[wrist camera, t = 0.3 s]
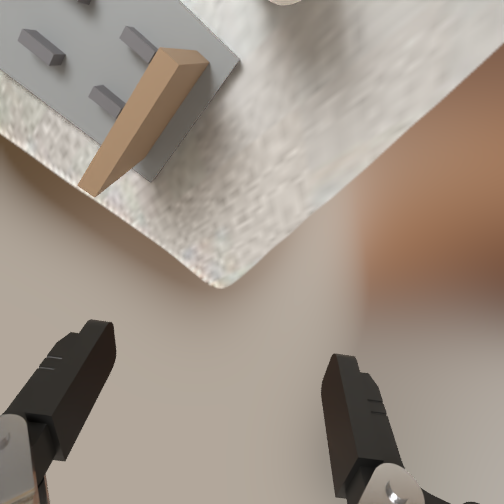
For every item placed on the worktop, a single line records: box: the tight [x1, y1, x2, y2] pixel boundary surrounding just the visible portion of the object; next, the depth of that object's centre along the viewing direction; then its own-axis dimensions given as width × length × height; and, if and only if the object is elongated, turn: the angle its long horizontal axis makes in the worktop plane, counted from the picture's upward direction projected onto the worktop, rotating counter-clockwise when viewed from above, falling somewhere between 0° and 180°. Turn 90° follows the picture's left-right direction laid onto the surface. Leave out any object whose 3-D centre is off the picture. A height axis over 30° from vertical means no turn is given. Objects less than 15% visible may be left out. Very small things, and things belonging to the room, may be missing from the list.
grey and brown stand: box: [0, 0, 240, 197], centre depth 27 cm, size 20×16×13 cm
